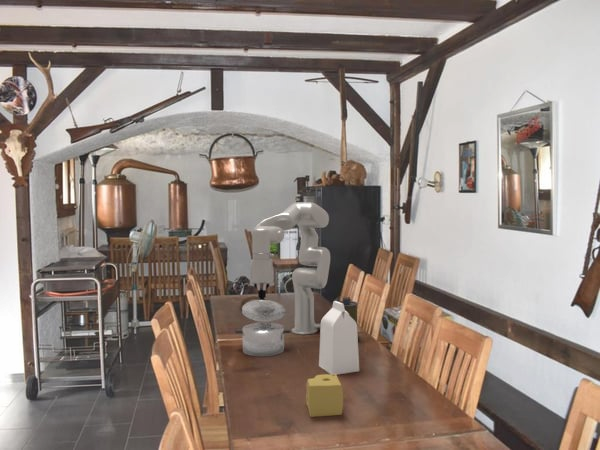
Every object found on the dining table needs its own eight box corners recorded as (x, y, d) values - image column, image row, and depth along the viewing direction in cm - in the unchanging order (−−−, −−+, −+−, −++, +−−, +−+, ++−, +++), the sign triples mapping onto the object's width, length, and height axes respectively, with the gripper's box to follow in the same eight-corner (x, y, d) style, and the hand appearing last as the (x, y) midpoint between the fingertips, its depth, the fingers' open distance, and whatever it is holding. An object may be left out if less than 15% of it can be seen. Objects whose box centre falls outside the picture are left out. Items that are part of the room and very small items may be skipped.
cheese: (305, 404, 176) (305, 374, 175) (338, 403, 176) (338, 373, 176) (309, 418, 165) (308, 386, 164) (343, 416, 166) (343, 384, 165)
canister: (356, 343, 244) (356, 300, 242) (333, 342, 246) (333, 299, 245) (358, 337, 254) (358, 295, 253) (337, 336, 256) (336, 294, 255)
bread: (261, 305, 330) (261, 291, 329) (278, 318, 295) (278, 303, 295) (236, 307, 325) (236, 293, 324) (250, 321, 290) (250, 305, 290)
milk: (318, 365, 214) (318, 301, 212) (344, 362, 218) (344, 298, 217) (332, 375, 203) (332, 307, 201) (359, 371, 207) (359, 304, 206)
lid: (286, 322, 244) (286, 316, 246) (283, 301, 229) (284, 295, 231) (244, 322, 245) (245, 316, 247) (239, 301, 229) (239, 295, 231)
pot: (292, 344, 244) (291, 322, 243) (289, 356, 226) (289, 333, 226) (239, 344, 245) (238, 322, 244) (233, 356, 227) (232, 333, 226)
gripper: (279, 255, 234) (280, 297, 235) (245, 255, 234) (245, 297, 236) (278, 257, 226) (278, 300, 228) (242, 257, 227) (243, 301, 228)
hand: (262, 299), depth 232 cm, fingers closed
